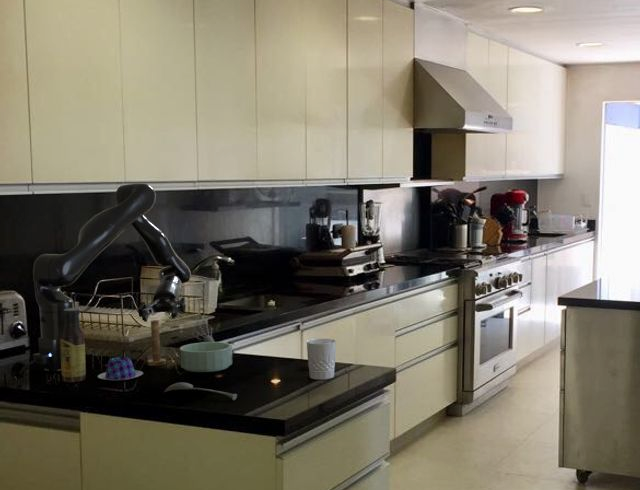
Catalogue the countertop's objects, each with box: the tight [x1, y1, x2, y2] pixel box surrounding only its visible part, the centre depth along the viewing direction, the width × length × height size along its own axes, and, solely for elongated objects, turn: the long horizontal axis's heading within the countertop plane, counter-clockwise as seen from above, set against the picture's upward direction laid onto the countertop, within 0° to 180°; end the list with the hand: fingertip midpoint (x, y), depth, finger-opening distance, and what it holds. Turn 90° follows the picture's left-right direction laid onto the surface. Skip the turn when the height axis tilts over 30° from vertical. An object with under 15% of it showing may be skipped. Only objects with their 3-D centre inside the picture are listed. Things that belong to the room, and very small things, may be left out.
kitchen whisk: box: [191, 320, 216, 343], centre depth 299 cm, size 6×34×6 cm, turn 22°
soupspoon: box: [163, 381, 238, 401], centre depth 235 cm, size 22×3×7 cm
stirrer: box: [147, 319, 167, 367], centre depth 273 cm, size 5×5×13 cm
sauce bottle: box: [60, 307, 87, 384], centre depth 252 cm, size 7×6×20 cm
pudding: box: [97, 356, 144, 382], centre depth 257 cm, size 12×12×5 cm
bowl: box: [179, 341, 234, 373], centre depth 268 cm, size 15×15×6 cm
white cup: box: [306, 338, 337, 381], centre depth 254 cm, size 8×8×10 cm
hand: (158, 317), depth 285 cm, fingers open, 8 cm apart
